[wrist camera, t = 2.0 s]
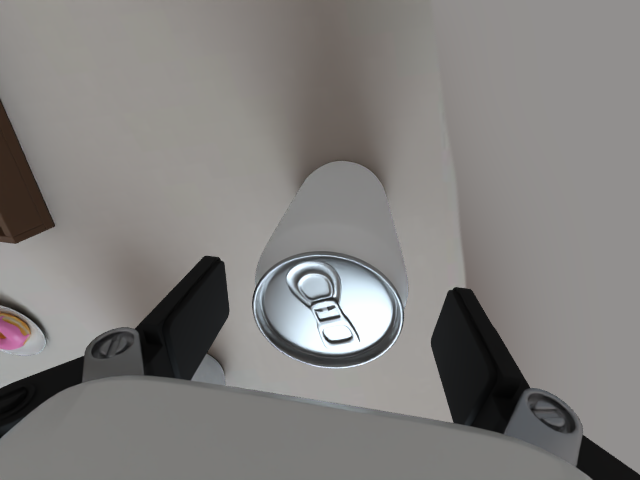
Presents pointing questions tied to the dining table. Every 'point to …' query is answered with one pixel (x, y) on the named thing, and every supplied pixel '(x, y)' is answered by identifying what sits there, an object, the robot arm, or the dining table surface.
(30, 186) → the tray
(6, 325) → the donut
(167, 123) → the dining table surface
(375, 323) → the can
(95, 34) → the dining table surface
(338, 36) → the dining table surface
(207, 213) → the dining table surface
